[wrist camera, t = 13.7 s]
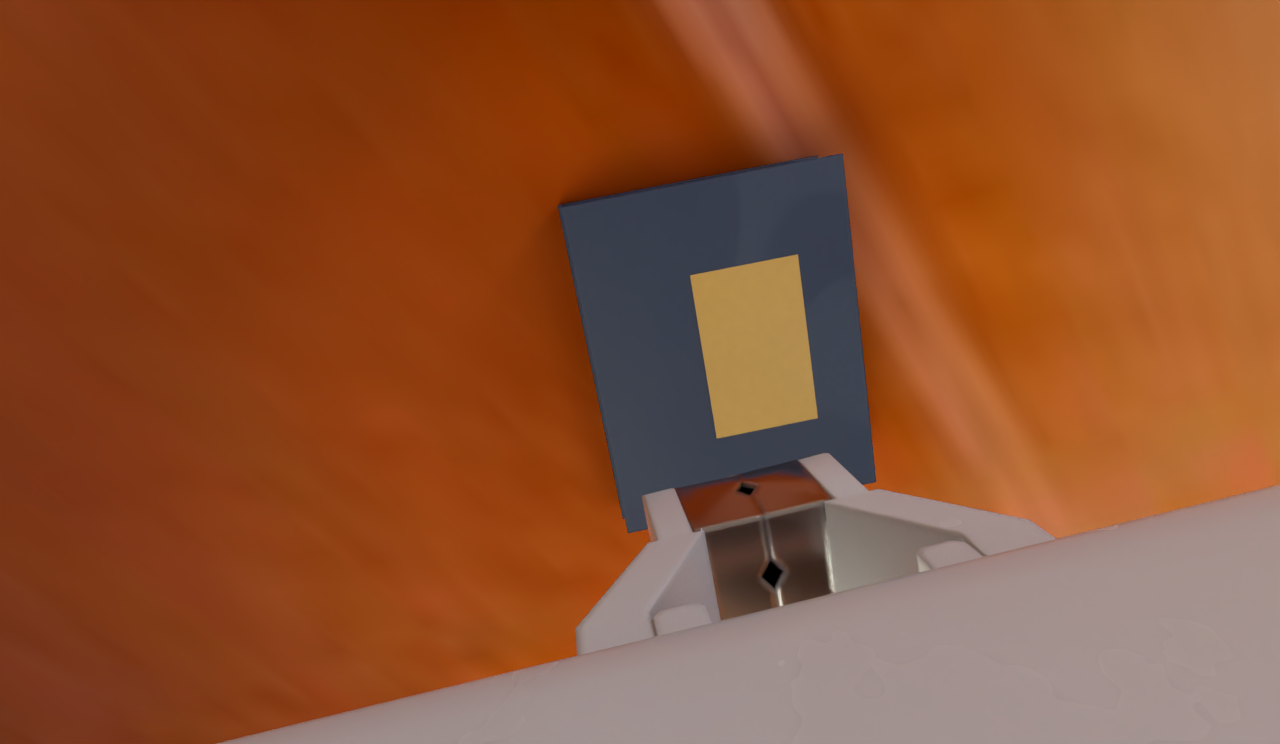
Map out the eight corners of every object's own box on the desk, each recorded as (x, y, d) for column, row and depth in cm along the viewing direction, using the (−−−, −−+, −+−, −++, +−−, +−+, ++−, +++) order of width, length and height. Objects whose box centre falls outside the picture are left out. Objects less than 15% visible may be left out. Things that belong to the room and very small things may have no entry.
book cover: (831, 154, 34) (843, 153, 32) (864, 470, 38) (876, 482, 37) (561, 205, 34) (560, 207, 32) (626, 519, 38) (628, 533, 36)
